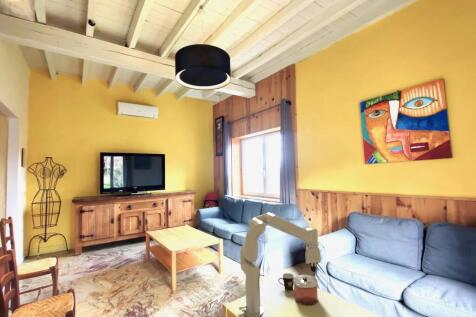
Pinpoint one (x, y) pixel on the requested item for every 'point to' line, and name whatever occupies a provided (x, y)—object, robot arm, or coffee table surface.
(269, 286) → the coffee table surface
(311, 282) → the cooker lid
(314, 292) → the red-brown rounded block
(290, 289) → the coffee mug
